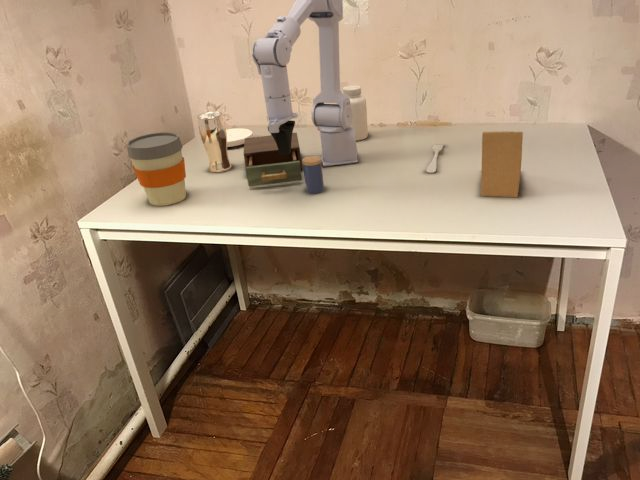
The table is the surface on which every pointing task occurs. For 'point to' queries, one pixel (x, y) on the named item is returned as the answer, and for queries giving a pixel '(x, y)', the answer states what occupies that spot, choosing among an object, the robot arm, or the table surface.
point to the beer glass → (214, 140)
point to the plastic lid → (237, 136)
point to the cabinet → (268, 147)
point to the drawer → (273, 169)
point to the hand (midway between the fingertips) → (285, 154)
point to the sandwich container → (501, 163)
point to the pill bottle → (357, 111)
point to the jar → (313, 174)
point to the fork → (434, 159)
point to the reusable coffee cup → (159, 166)
